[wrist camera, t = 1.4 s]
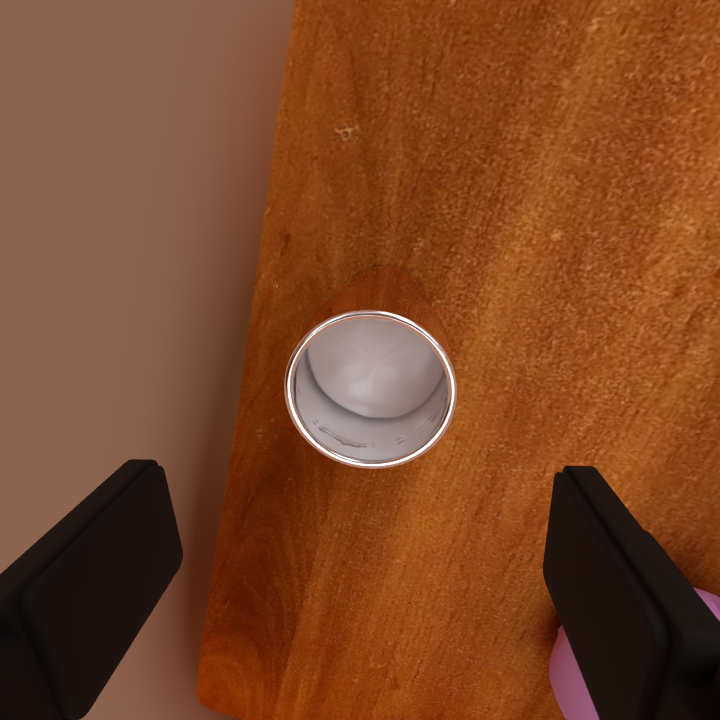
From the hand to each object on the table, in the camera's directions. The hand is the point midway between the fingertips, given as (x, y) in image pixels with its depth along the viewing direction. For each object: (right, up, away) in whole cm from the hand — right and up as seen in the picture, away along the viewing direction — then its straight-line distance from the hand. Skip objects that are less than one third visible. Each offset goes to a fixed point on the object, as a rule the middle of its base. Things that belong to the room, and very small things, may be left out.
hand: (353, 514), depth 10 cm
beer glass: (+2, +7, +20) cm, 21 cm away
